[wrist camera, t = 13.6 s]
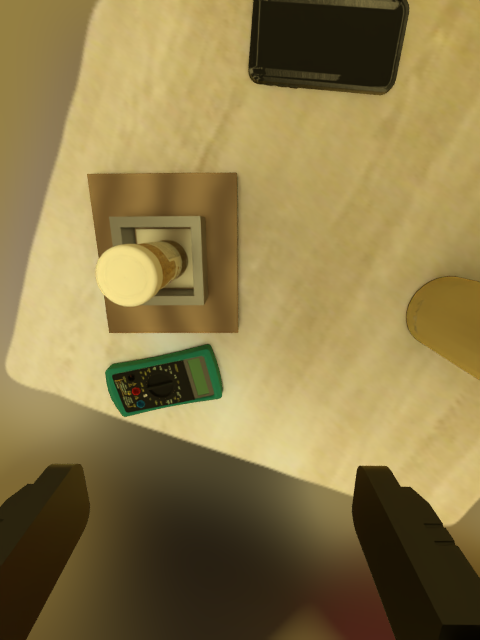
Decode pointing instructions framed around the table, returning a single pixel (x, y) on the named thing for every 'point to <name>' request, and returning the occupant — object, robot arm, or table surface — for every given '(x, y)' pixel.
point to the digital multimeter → (164, 381)
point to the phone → (328, 44)
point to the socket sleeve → (126, 235)
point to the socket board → (177, 200)
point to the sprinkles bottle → (139, 270)
